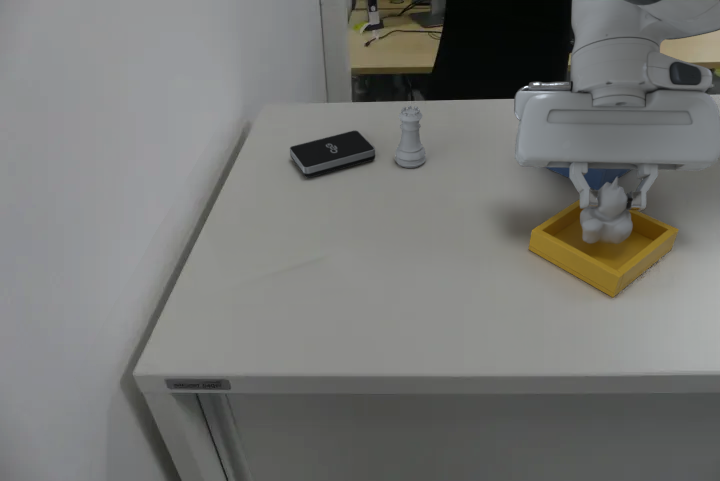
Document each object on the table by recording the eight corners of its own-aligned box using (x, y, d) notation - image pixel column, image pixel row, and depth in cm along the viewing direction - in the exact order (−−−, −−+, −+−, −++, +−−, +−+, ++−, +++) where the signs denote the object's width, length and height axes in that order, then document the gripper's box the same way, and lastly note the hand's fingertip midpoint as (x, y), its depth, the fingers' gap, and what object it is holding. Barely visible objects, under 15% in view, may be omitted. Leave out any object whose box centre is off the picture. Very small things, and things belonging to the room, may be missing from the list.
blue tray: (579, 133, 84) (583, 116, 83) (646, 159, 78) (652, 141, 76) (530, 161, 79) (533, 143, 77) (598, 191, 72) (602, 172, 70)
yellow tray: (587, 209, 69) (592, 190, 67) (671, 249, 62) (679, 229, 61) (528, 249, 64) (531, 229, 62) (613, 297, 57) (619, 277, 55)
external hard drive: (377, 161, 81) (376, 149, 80) (304, 181, 78) (303, 169, 76) (357, 141, 86) (356, 129, 85) (289, 159, 83) (287, 147, 81)
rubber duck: (642, 236, 62) (656, 176, 57) (603, 265, 59) (614, 204, 54) (599, 216, 65) (609, 157, 60) (561, 242, 63) (568, 183, 58)
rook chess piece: (432, 162, 80) (434, 110, 75) (407, 172, 78) (407, 120, 73) (412, 150, 83) (413, 99, 78) (388, 160, 81) (387, 108, 76)
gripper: (519, 70, 59) (515, 199, 57) (729, 70, 56) (731, 206, 54) (510, 92, 65) (507, 210, 63) (699, 94, 62) (701, 217, 61)
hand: (612, 208), depth 59 cm, fingers closed on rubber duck, 3 cm apart
